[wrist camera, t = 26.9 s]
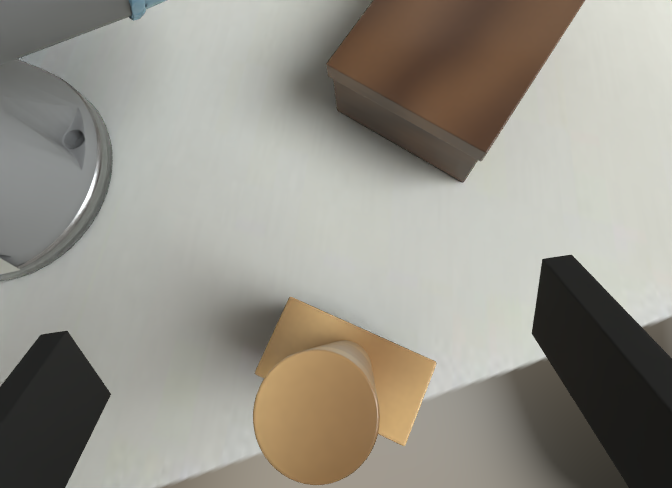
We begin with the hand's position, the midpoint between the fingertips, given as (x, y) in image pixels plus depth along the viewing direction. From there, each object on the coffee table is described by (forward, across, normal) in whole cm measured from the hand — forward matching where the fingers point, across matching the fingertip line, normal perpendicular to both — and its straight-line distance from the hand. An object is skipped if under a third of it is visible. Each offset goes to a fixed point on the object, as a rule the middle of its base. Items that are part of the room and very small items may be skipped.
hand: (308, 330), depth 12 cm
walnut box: (+22, +10, +2) cm, 24 cm away
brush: (+9, 0, -11) cm, 14 cm away
